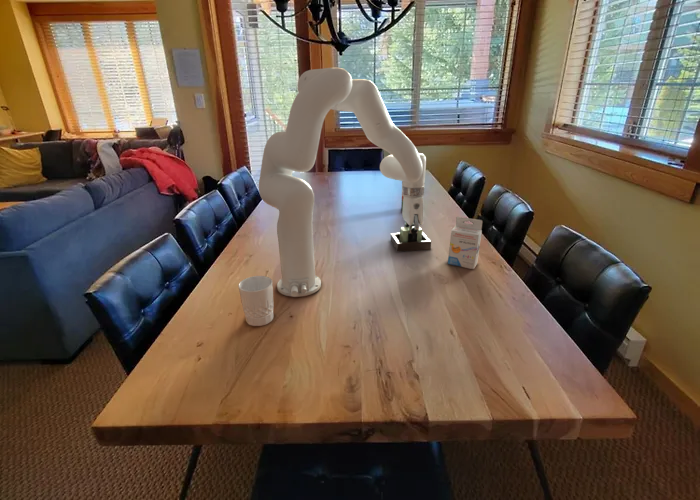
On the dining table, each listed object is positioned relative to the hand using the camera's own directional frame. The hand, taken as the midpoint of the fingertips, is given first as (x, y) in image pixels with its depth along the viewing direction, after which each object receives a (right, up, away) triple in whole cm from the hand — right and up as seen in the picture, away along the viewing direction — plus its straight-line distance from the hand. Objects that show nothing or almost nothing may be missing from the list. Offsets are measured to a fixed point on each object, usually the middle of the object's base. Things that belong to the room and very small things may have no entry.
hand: (410, 240), depth 134 cm
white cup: (-44, -21, -41) cm, 64 cm away
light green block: (0, 0, 0) cm, 1 cm away
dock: (0, -2, +1) cm, 2 cm away
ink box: (+14, -8, -14) cm, 22 cm away
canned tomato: (+6, +15, +40) cm, 43 cm away
